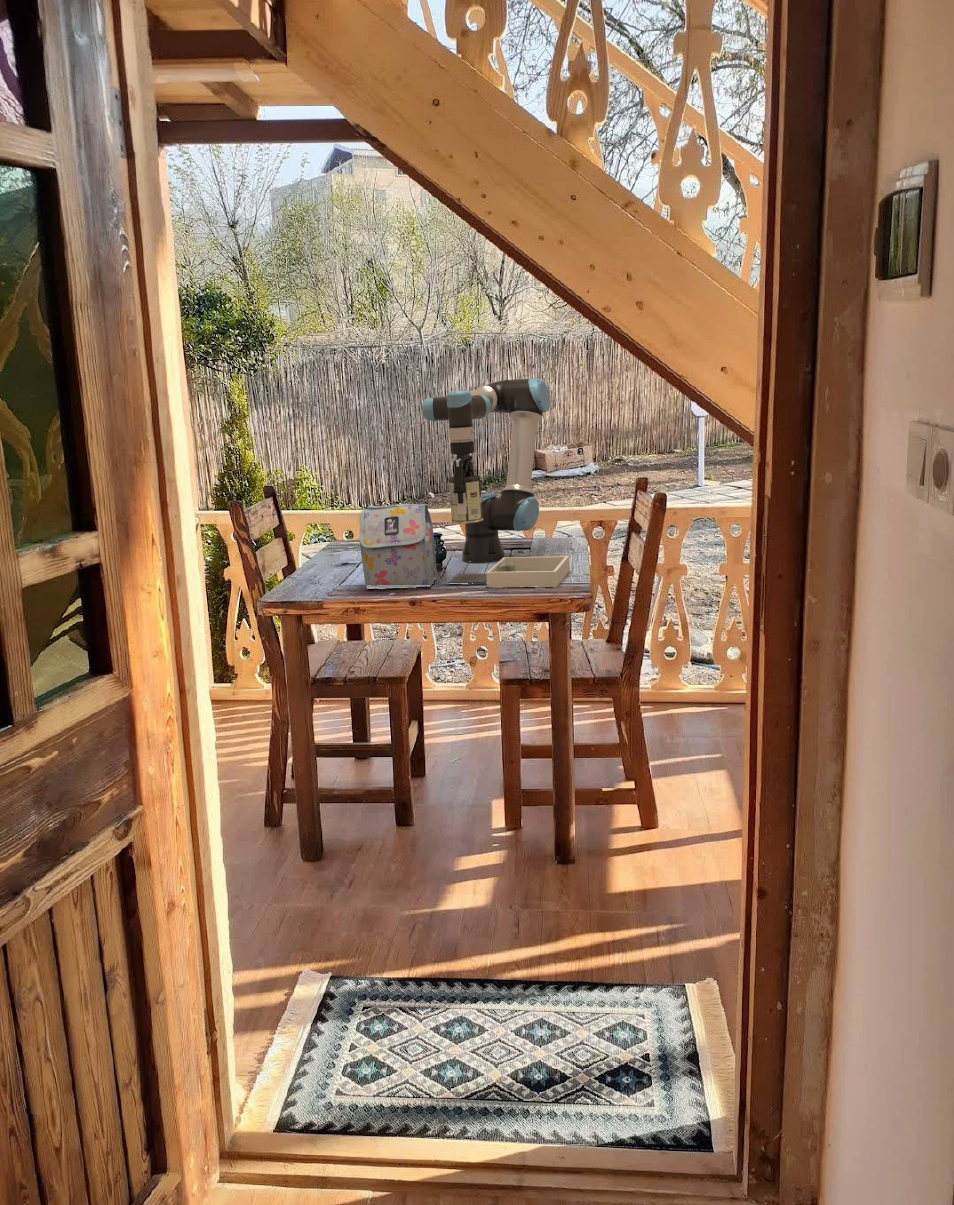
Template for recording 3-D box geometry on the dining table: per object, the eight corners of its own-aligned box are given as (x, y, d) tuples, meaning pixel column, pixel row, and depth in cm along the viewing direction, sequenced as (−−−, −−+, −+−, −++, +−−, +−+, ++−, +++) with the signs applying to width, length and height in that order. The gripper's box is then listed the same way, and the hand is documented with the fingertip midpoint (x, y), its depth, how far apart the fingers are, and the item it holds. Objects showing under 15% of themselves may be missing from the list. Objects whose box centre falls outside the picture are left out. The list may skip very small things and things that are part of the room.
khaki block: (500, 581, 332) (499, 566, 331) (503, 578, 336) (502, 563, 335) (512, 581, 331) (512, 565, 330) (515, 578, 335) (514, 563, 334)
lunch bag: (360, 593, 328) (352, 510, 322) (372, 581, 345) (365, 502, 338) (429, 591, 325) (423, 507, 319) (439, 579, 341) (432, 499, 335)
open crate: (487, 588, 323) (486, 572, 322) (504, 571, 346) (503, 557, 345) (556, 587, 318) (555, 571, 316) (569, 571, 340) (568, 556, 339)
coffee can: (461, 518, 338) (458, 475, 335) (489, 518, 333) (486, 475, 330) (445, 523, 329) (441, 479, 326) (472, 524, 324) (469, 479, 321)
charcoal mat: (448, 584, 332) (448, 581, 331) (458, 576, 343) (458, 573, 343) (484, 584, 328) (484, 581, 328) (493, 576, 340) (493, 573, 340)
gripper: (463, 443, 314) (468, 516, 319) (482, 437, 335) (486, 505, 340) (440, 444, 316) (445, 516, 321) (459, 438, 337) (464, 506, 342)
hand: (466, 511), depth 330 cm, fingers closed on coffee can, 10 cm apart
